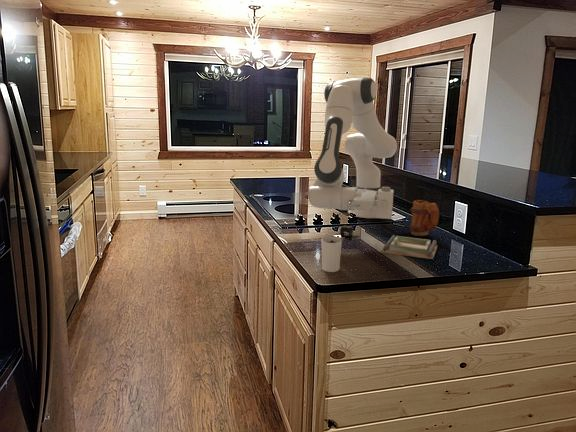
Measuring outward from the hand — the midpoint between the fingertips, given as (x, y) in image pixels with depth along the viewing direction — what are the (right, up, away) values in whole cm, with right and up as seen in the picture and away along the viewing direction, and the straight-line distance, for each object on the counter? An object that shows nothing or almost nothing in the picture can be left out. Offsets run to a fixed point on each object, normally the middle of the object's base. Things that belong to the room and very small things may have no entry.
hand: (387, 201), depth 173 cm
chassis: (+9, -18, +1) cm, 20 cm away
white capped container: (-1, -6, +2) cm, 6 cm away
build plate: (-13, -15, +18) cm, 27 cm away
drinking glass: (-23, -23, -19) cm, 38 cm away
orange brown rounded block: (+18, -14, +18) cm, 29 cm away
